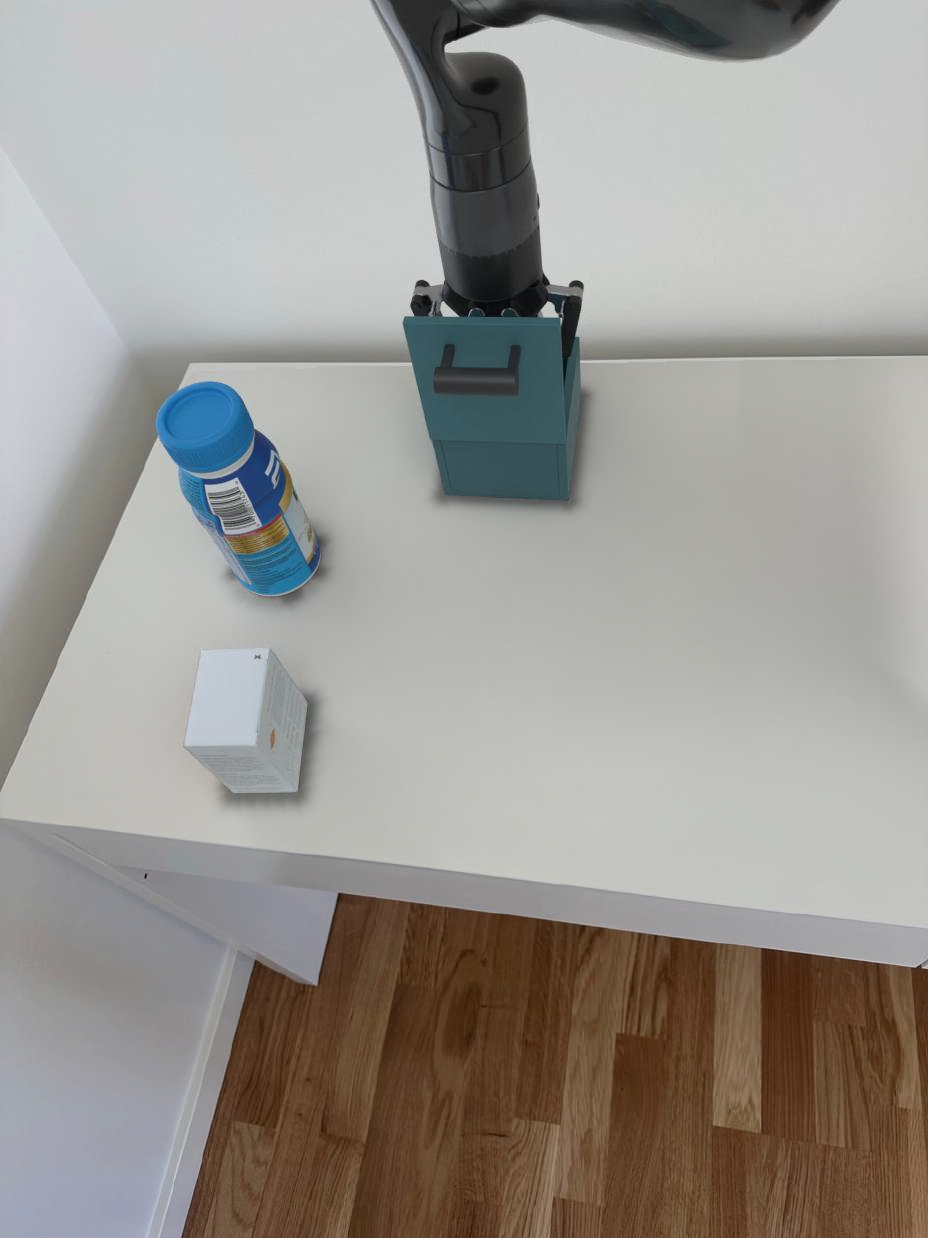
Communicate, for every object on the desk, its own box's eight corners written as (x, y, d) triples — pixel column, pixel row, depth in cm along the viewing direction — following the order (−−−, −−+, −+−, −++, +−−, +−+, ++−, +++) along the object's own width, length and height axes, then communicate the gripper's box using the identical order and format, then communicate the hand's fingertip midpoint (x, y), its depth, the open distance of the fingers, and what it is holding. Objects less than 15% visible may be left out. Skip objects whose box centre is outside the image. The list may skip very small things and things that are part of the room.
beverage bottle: (217, 579, 84) (118, 435, 67) (270, 511, 87) (189, 357, 70) (289, 614, 81) (206, 472, 64) (341, 543, 84) (275, 389, 67)
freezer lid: (404, 315, 68) (390, 366, 65) (560, 316, 66) (552, 369, 63) (431, 433, 79) (420, 480, 76) (566, 437, 77) (559, 486, 74)
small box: (246, 704, 77) (199, 646, 68) (310, 702, 77) (271, 644, 68) (231, 795, 74) (179, 747, 64) (298, 794, 73) (256, 745, 64)
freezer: (464, 393, 92) (454, 334, 85) (581, 396, 90) (579, 336, 83) (444, 494, 86) (431, 440, 79) (568, 500, 84) (565, 444, 77)
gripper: (380, 252, 65) (420, 414, 80) (581, 251, 63) (585, 419, 77) (399, 185, 69) (434, 352, 84) (591, 181, 66) (593, 354, 81)
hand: (507, 383), depth 80 cm, fingers closed on ink box, 5 cm apart
